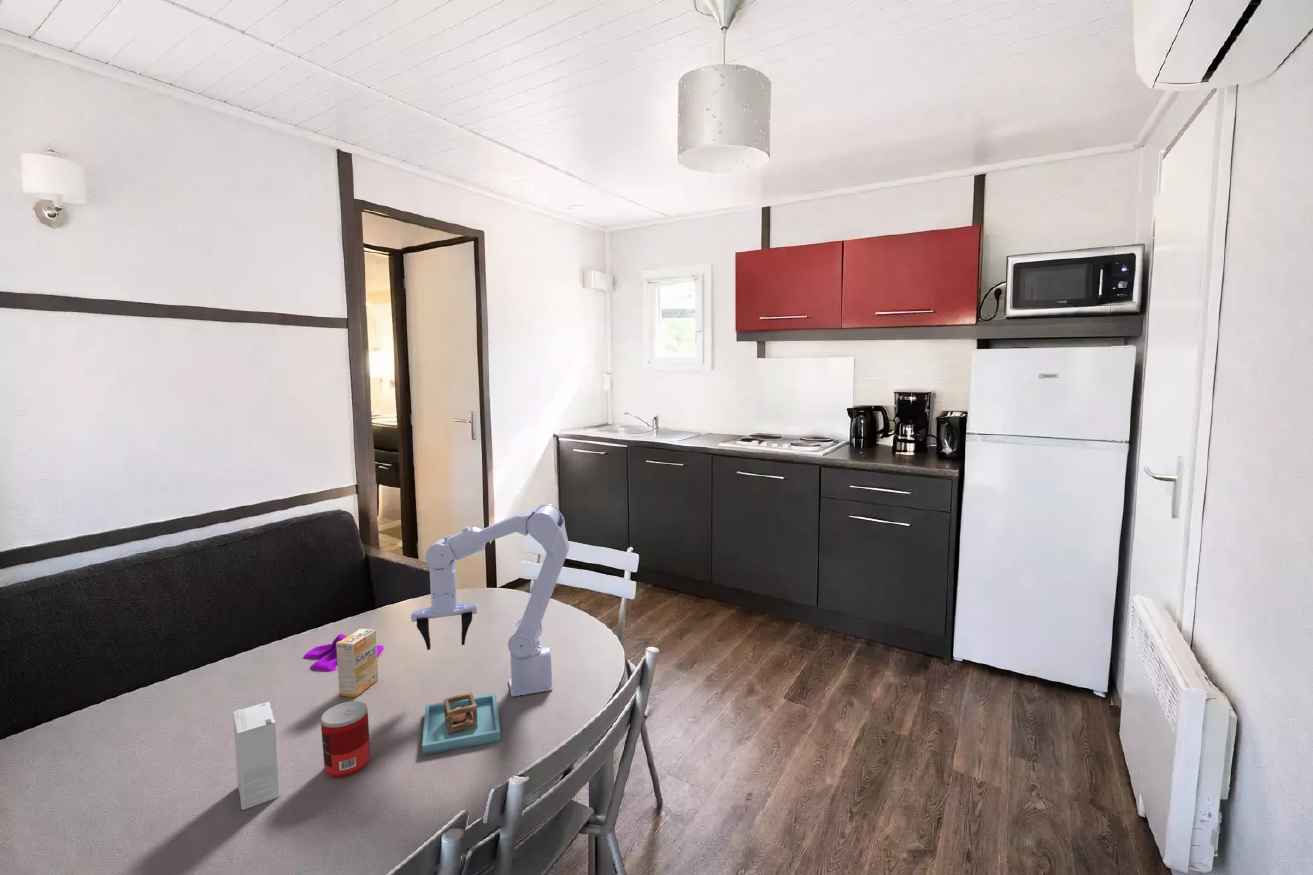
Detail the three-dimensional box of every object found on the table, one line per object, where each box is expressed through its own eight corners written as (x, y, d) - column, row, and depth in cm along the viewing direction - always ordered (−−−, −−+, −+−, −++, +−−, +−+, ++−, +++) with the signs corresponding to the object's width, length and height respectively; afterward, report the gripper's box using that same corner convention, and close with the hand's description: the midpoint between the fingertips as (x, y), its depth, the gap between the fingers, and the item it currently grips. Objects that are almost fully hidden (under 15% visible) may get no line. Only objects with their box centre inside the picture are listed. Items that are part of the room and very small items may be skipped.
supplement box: (356, 698, 139) (353, 644, 138) (338, 696, 140) (334, 642, 139) (379, 679, 147) (376, 629, 146) (362, 677, 148) (359, 627, 147)
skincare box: (237, 786, 110) (230, 710, 108) (275, 772, 114) (269, 699, 112) (241, 813, 104) (234, 732, 102) (282, 797, 108) (275, 719, 106)
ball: (467, 714, 130) (462, 702, 130) (468, 720, 127) (464, 707, 127) (453, 721, 129) (448, 708, 129) (454, 727, 126) (449, 714, 126)
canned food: (379, 756, 119) (376, 704, 117) (346, 783, 111) (342, 727, 110) (349, 748, 121) (345, 697, 120) (315, 774, 114) (311, 719, 112)
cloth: (394, 656, 160) (393, 634, 159) (317, 682, 147) (315, 658, 146) (365, 630, 176) (364, 610, 175) (293, 651, 163) (291, 629, 162)
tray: (496, 701, 138) (495, 693, 137) (500, 740, 124) (500, 731, 123) (426, 713, 133) (425, 705, 133) (422, 755, 119) (422, 746, 119)
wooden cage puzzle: (472, 713, 132) (471, 692, 131) (477, 727, 127) (476, 705, 126) (444, 720, 129) (443, 698, 129) (448, 735, 124) (447, 712, 124)
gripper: (475, 581, 147) (477, 633, 149) (411, 588, 143) (414, 642, 144) (476, 591, 141) (478, 646, 142) (409, 599, 136) (412, 656, 138)
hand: (446, 645), depth 143 cm, fingers open, 7 cm apart
